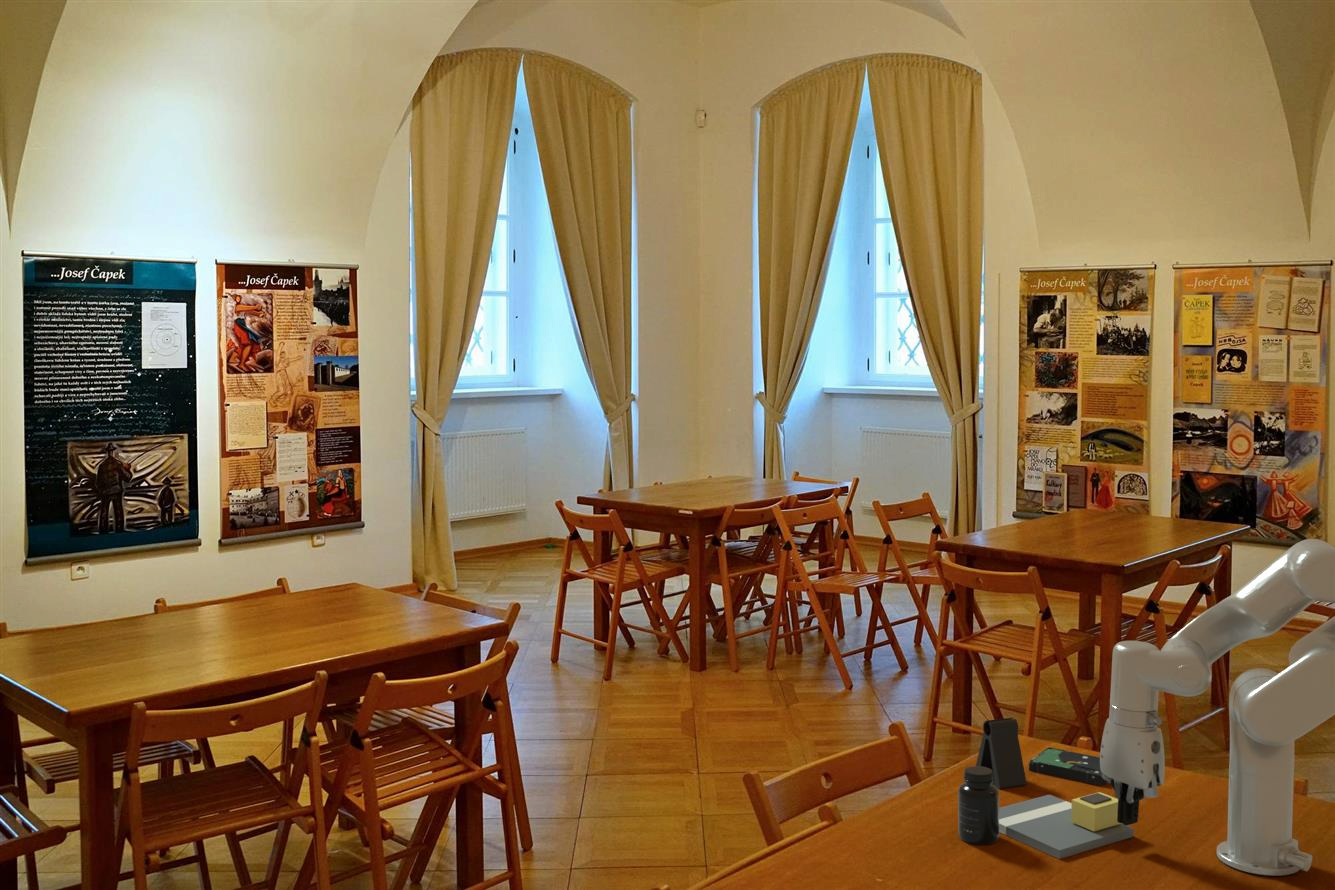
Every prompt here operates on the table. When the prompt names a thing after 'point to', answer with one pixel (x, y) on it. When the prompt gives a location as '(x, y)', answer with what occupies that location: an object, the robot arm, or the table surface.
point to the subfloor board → (1054, 827)
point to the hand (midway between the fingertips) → (1127, 822)
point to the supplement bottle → (978, 807)
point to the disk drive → (1068, 766)
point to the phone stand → (1002, 753)
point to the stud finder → (1095, 811)
